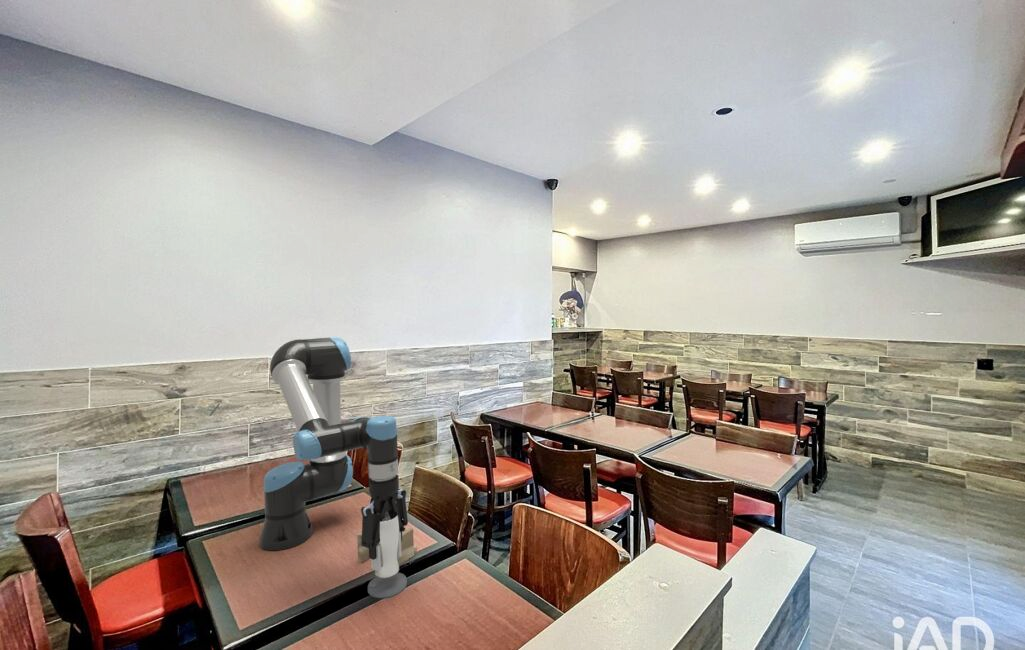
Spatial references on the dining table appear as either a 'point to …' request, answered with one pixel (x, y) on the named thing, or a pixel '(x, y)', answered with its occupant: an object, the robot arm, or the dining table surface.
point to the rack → (406, 547)
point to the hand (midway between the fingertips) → (386, 561)
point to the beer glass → (388, 546)
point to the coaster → (387, 586)
